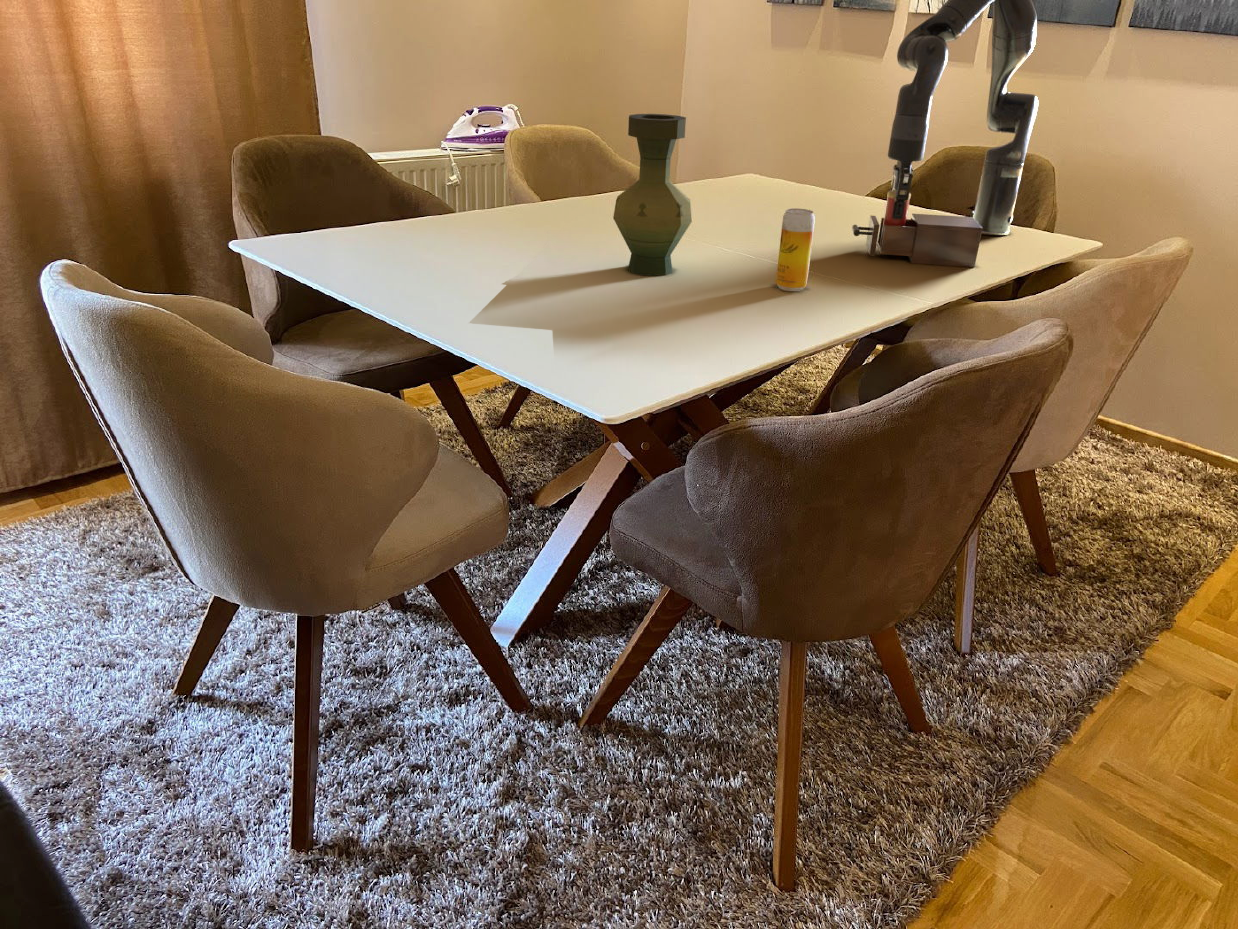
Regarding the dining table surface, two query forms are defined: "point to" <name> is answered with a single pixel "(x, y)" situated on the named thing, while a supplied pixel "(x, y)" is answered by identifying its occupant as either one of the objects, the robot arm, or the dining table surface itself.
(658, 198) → the vase
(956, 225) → the cabinet
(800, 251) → the beer can
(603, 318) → the dining table surface
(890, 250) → the drawer
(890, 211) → the tea tin
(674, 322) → the dining table surface
